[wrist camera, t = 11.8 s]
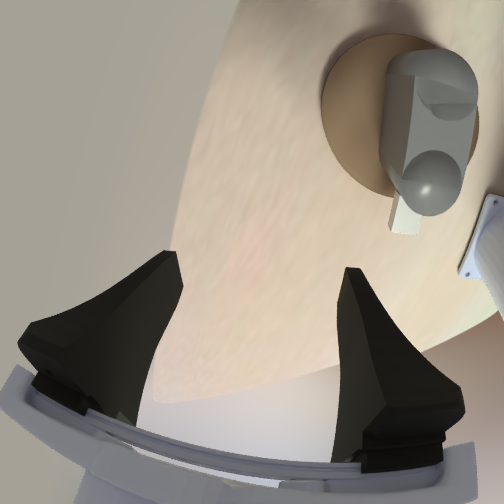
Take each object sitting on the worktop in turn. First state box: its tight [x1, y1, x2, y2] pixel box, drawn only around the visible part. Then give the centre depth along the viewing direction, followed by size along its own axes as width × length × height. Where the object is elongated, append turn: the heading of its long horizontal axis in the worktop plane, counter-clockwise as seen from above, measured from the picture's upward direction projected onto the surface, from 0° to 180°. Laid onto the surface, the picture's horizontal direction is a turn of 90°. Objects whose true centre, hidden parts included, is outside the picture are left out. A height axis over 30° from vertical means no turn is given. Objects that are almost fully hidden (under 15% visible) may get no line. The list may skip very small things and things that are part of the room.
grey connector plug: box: [379, 49, 478, 235], centre depth 13 cm, size 11×4×5 cm, turn 1°
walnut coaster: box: [321, 34, 479, 198], centre depth 15 cm, size 11×11×1 cm
